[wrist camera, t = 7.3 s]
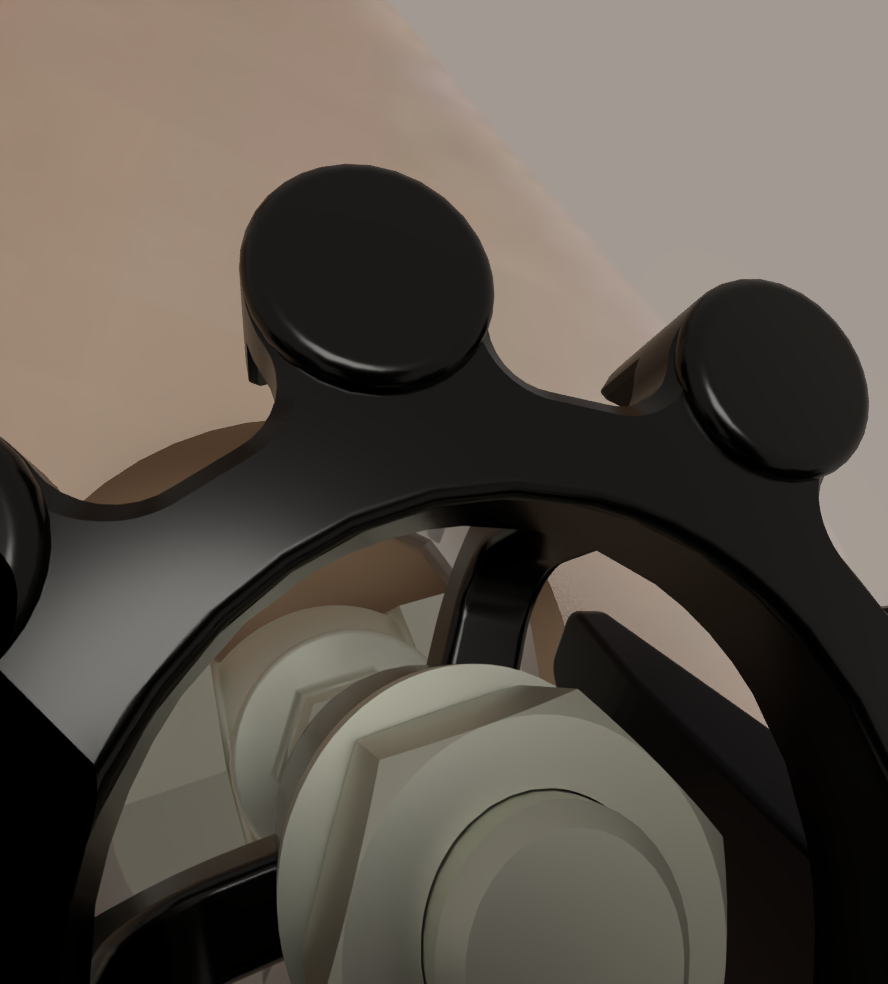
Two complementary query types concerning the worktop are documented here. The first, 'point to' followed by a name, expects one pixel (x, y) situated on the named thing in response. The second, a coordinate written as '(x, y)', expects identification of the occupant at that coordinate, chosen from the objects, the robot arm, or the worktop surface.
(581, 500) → the valve
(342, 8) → the worktop surface
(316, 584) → the collar base
